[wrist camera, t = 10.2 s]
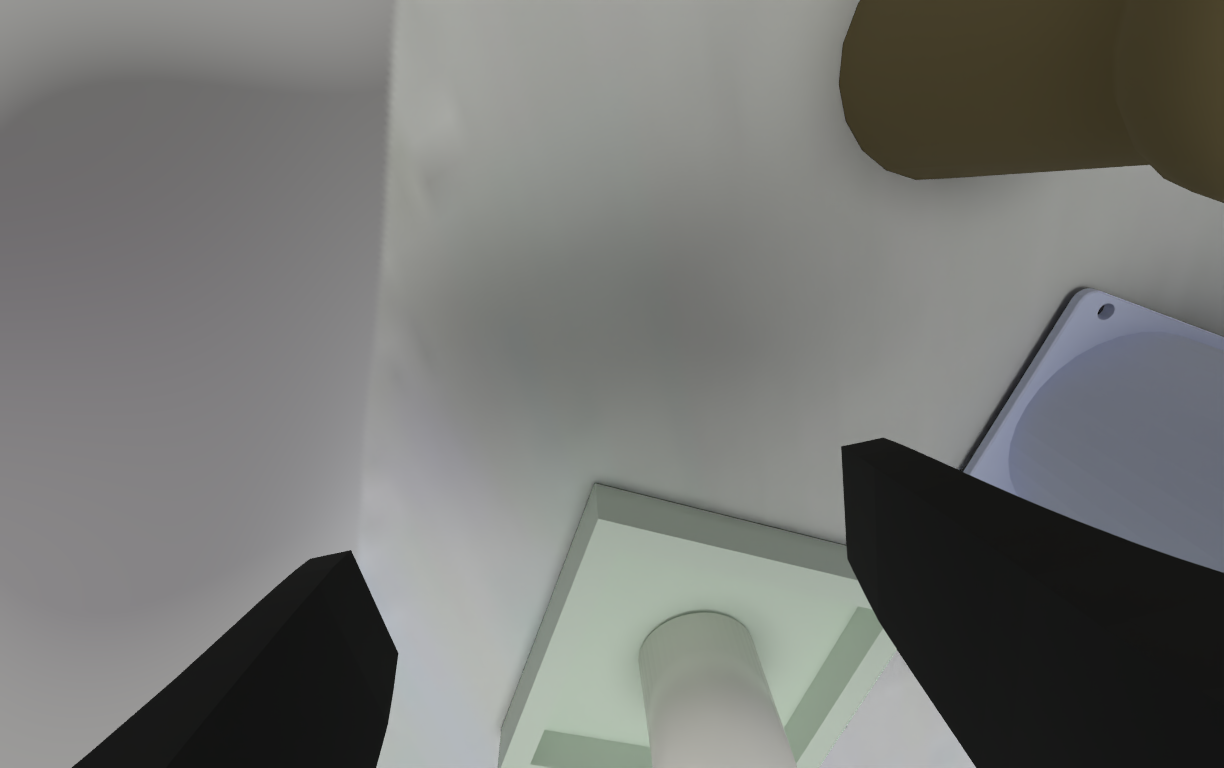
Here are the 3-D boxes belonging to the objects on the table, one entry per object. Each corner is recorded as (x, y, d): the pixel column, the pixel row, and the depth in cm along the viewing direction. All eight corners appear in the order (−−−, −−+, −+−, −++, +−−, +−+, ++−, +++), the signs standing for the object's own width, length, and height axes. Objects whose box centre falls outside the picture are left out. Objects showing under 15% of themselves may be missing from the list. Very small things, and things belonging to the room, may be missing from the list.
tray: (902, 559, 23) (931, 598, 21) (769, 773, 27) (783, 820, 26) (594, 483, 21) (598, 518, 19) (501, 729, 25) (496, 778, 23)
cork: (1084, 109, 17) (1815, 103, 7) (881, 219, 18) (1285, 352, 8) (1035, -132, 15) (2010, -635, 5) (804, 7, 16) (1237, -182, 6)
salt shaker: (774, 626, 23) (853, 828, 17) (724, 705, 25) (779, 916, 18) (665, 601, 22) (707, 805, 16) (621, 685, 24) (642, 899, 18)
